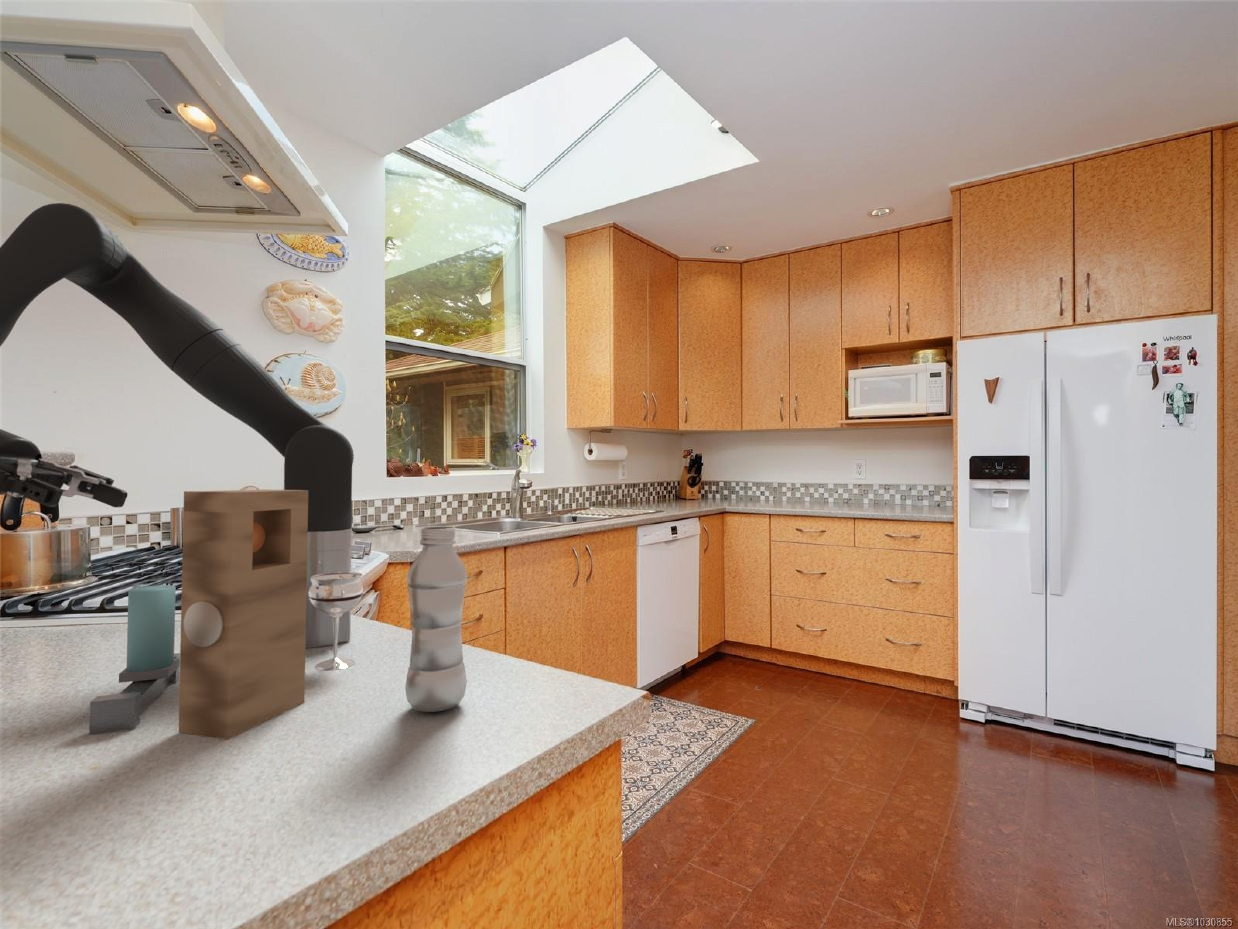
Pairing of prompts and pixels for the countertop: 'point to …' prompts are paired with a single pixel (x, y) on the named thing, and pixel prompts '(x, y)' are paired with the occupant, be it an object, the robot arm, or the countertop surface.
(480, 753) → the countertop surface
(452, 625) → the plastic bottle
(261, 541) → the plunger
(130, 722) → the rail
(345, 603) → the wineglass
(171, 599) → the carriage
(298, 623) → the wooden window block
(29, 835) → the countertop surface
